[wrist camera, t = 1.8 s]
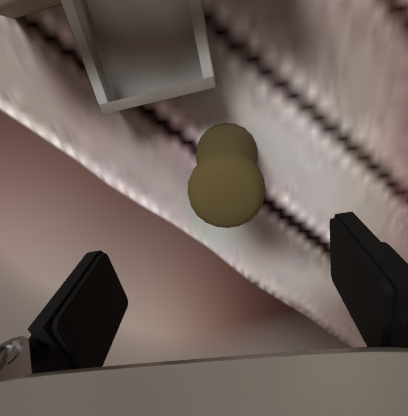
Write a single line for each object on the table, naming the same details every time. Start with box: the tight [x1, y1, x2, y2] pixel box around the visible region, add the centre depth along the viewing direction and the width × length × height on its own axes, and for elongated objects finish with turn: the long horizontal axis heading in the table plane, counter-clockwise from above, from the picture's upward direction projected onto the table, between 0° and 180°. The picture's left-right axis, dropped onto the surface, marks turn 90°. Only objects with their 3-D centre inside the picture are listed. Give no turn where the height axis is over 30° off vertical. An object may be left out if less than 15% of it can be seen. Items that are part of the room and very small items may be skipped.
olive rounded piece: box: [188, 123, 266, 228], centre depth 21 cm, size 6×6×11 cm
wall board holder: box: [0, 0, 217, 115], centre depth 18 cm, size 10×22×9 cm, turn 103°
